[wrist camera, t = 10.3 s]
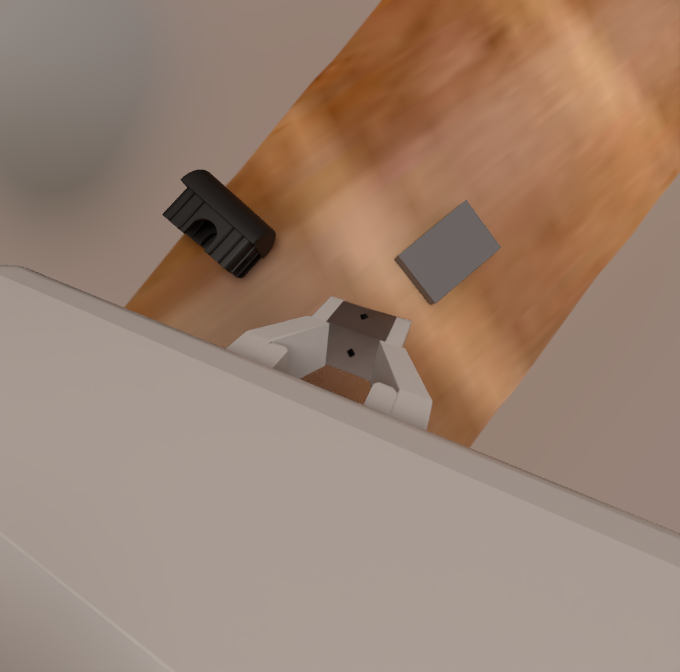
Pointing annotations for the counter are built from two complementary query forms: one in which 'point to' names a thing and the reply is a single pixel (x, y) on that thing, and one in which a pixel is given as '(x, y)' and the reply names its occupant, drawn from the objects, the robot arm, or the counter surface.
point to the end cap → (220, 223)
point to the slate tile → (448, 253)
